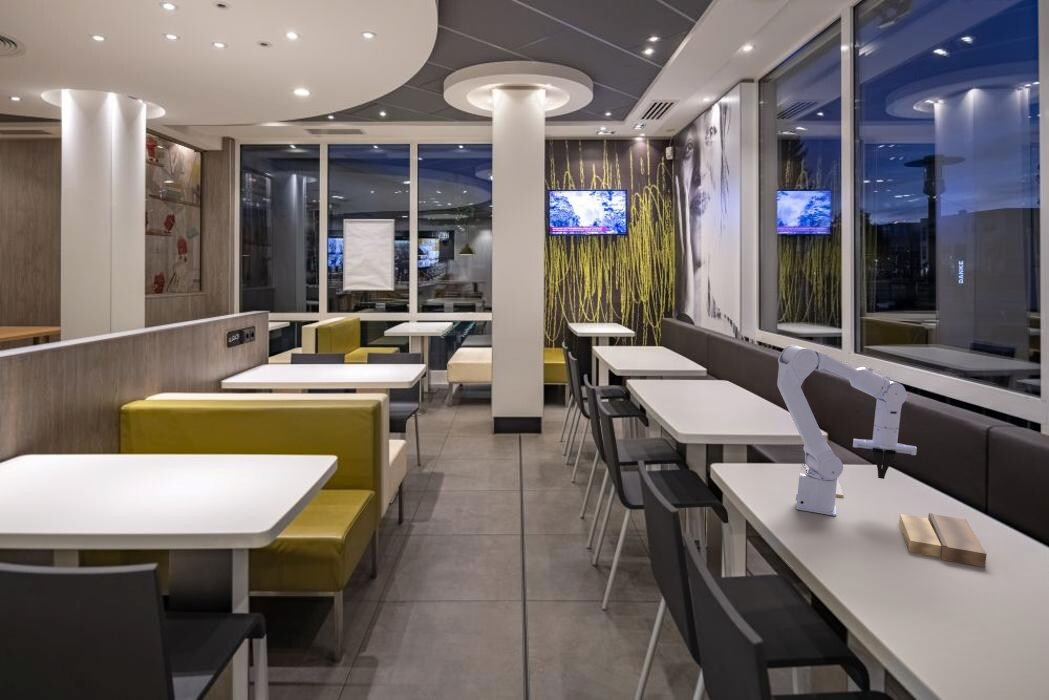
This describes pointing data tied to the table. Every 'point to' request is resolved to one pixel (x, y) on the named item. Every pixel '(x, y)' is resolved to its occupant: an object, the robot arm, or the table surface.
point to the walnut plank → (957, 540)
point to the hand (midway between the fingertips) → (880, 477)
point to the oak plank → (919, 535)
